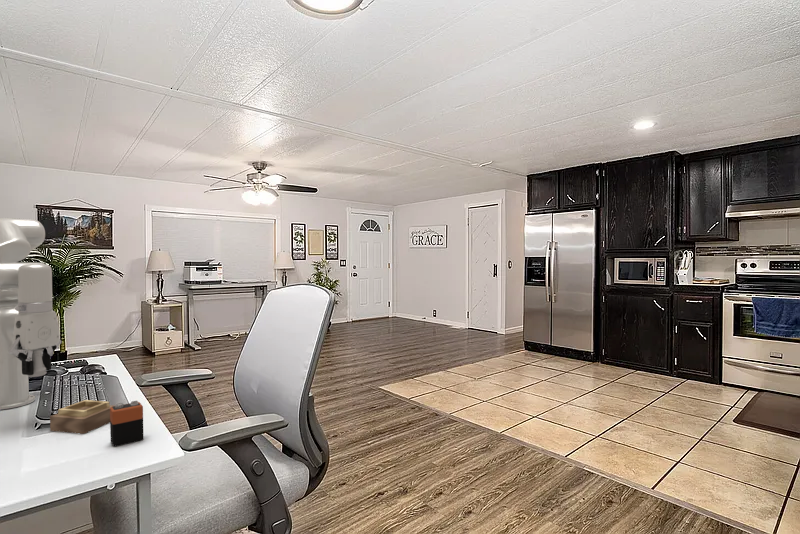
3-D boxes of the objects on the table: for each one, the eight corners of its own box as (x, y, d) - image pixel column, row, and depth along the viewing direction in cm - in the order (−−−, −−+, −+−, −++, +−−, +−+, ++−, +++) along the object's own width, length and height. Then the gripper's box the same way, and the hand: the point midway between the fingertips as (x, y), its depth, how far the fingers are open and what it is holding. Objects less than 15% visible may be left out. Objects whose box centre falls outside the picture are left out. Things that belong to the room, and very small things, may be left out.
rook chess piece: (43, 371, 132) (43, 344, 132) (49, 374, 130) (48, 346, 129) (24, 375, 129) (23, 347, 128) (29, 378, 126) (29, 349, 126)
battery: (110, 442, 117) (109, 403, 116) (140, 435, 121) (139, 397, 121) (113, 447, 113) (112, 407, 113) (143, 440, 118) (143, 401, 118)
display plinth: (50, 430, 124) (49, 410, 124) (85, 416, 135) (85, 398, 135) (83, 434, 122) (83, 413, 122) (117, 419, 133) (117, 400, 132)
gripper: (15, 312, 119) (16, 381, 120) (73, 304, 136) (74, 365, 137) (-8, 311, 121) (-6, 379, 122) (53, 303, 137) (54, 363, 138)
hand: (36, 371), depth 129 cm, fingers closed on rook chess piece, 4 cm apart
